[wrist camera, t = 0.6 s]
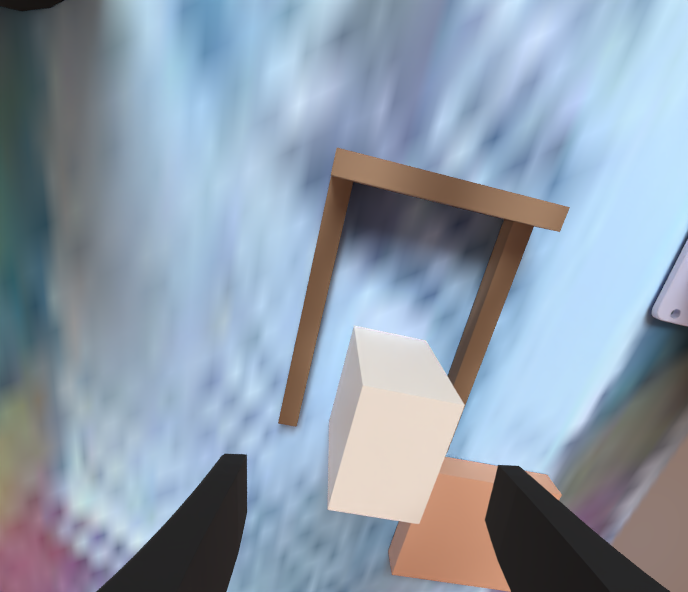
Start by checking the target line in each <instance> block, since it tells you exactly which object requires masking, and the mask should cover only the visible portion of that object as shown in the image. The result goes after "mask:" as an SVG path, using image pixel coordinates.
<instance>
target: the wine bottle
mask: <svg viewBox="0 0 688 592" xmlns="http://www.w3.org/2000/svg"><path fill="white" fill-rule="evenodd" d="M61 1H63V0H0V6H2V7H6V8H10V9H15V10H19V11H27V10H35V9H43V8H51V7H53V6H54V5H56V4H58V3H60V2H61Z"/></svg>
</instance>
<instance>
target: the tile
mask: <svg viewBox="0 0 688 592" xmlns="http://www.w3.org/2000/svg"><path fill="white" fill-rule="evenodd" d="M497 468H498V466H495V465H489V464H484V463H478V462H472V461H467V460H461V459H455V458H450V457H445V458H444V461H443V463H442V466H441V468H440V471H439V474H438V476H437V479H436V482H435V484H434V487H433V489H432V492H431V495H430V497H429V500H428V502H427V505H426V508H425V510H424V513H423V516H422V518H421V521H420V523H419V524H414V523H408V522H402V521H399V523H398V525H397V528H396V531H395V534H394V537H393V539H392V542H391V545H390V548H389V550H388V553H389V559H390V566H391V573H392V575H398V576H405V577H412V578H419V579H426V580H433V581H440V582H447V583H454V584H461V585H468V586H475V587H482V588H489V589H496V590H503V591H510V592H511V590H510V588H509V586H508V584H507V581H506V579H505V577H504V574H503V572H502V570H501V567H500V565H499V563H498V560H497V557H496V554H495V551H494V548H493V545H492V542H491V539H490V536H489V533H488V529H487V526H486V523H485V516H486V512H487V508H488V504H489V500H490V496H491V492H492V488H493V484H494V480H495V476H496V472H497ZM525 472H527V473H528V474H529V475H530V476H531V477H533V478H534V479H535V480H536V481H537V482H538V483H539V484H541V485H542V486H543V487H544V488H545V489H546V490H547V491H548V492H550V493H551V494H552V495H553V496H554V497H555V498H556V499H558V500H559V499H560V497H561V495H562V494H561V493H560V492H559V490H558V489H557V488H556V486H555V485H554V484H553V482H552V481H551V480H550V478H549V477H548V475H545V474H540V473H534V472H528V471H525Z"/></svg>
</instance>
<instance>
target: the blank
mask: <svg viewBox="0 0 688 592" xmlns="http://www.w3.org/2000/svg"><path fill="white" fill-rule="evenodd" d="M464 406H465V405H464V403H463V402H462V400H461V398H460V397H459V395H458V393H457V392H456V390H455V388H454V386H453V385H452V383H451V381H450V380H449V378H448V376H447V375H446V373H445V371H444V370H443V368H442V366H441V365H440V363H439V361H438V360H437V358H436V356H435V355H434V353H433V351H432V350H431V348H430V346H429V344H428V343H427V341H426V340H421V339H416V338H412V337H407V336H402V335H397V334H392V333H388V332H383V331H378V330H373V329H369V328H364V327H359V326H354V327H353V331H352V335H351V339H350V343H349V346H348V350H347V354H346V358H345V362H344V365H343V369H342V373H341V377H340V381H339V385H338V388H337V392H336V396H335V400H334V404H333V407H332V411H331V415H330V419H329V456H328V510H333V511H339V512H345V513H352V514H358V515H364V516H370V517H377V518H383V519H389V520H396V521H402V522H408V523H414V524H419V523H420V521H421V518H422V516H423V513H424V510H425V508H426V505H427V502H428V500H429V497H430V495H431V492H432V489H433V487H434V484H435V482H436V479H437V476H438V474H439V471H440V468H441V466H442V463H443V461H444V458H445V455H446V453H447V450H448V448H449V445H450V442H451V440H452V437H453V434H454V432H455V429H456V427H457V424H458V421H459V419H460V416H461V414H462V411H463V408H464Z"/></svg>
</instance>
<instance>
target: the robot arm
mask: <svg viewBox="0 0 688 592" xmlns="http://www.w3.org/2000/svg"><path fill="white" fill-rule="evenodd" d="M673 310H674V312H673V313H672V315H671V312H672V311H673ZM652 315H653V317H655V318H657V319H659V320H662V321H666V322H670V323H675V324H679V325H683V326H688V240H687V242H686V244H685V245H684V247H683V249H682V251H681V253H680V255H679V257H678V259H677V261H676V263H675V265H674V267H673V269H672V271H671V273H670V275H669V277H668V279H667V281H666V283H665V285H664V287H663V289H662V290H661V292H660V294H659V296H658V298H657V300H656V302H655V304H654V306H653V308H652ZM246 515H247V455H244V454H224V455H223V456H221V457H220V459H219V460H218V461H217V463H216V464H215V465H214V466H213V468H212V469H211V470H210V472H209V473H208V474H207V475H206V477H205V478H204V479H203V480H202V482H201V483H200V484H199V485H198V486H197V488H196V489H195V490H194V491H193V492H192V494H191V495H190V496H189V497H188V498H187V499H186V501H185V502H184V503H183V504H182V505H181V506H180V507H179V509H178V510H177V511H176V512H175V513H174V514H173V515H172V517H171V518H170V519H169V520H168V521H167V522H166V523H165V524H164V525H163V526H162V527H161V529H160V530H159V531H158V532H157V533H156V534H155V535H154V536H153V537H152V538H151V539H150V540H149V541H148V542H147V543H146V544H145V545H144V546H143V547H142V548H141V549H140V550H139V552H138V553H137V554H136V555H135V556H134V557H133V558H131V559H130V560H129V561H128V562H127V563H126V564H125V565H124V566H123V567H122V568H121V569H120V570H119V571H118V572H117V573H116V574H115V575H114V576H113V577H112V578H111V579H110V580H109V581H107V582H106V583H105V584H104V585H103V586H102V587H101V588H100V589H99V590H98V591H97V592H226V591H227V588H228V585H229V582H230V578H231V575H232V572H233V569H234V566H235V562H236V559H237V556H238V552H239V548H240V543H241V539H242V534H243V529H244V524H245V520H246ZM485 523H486V526H487V529H488V533H489V536H490V539H491V542H492V545H493V548H494V551H495V554H496V557H497V560H498V563H499V565H500V567H501V570H502V572H503V574H504V577H505V579H506V581H507V584H508V586H509V588H510V590H511V592H670V591H669V590H667V589H666V588H664V587H663V586H662V585H661V584H659V583H658V582H657V581H655V580H654V579H653V578H651V577H650V576H649V575H647V574H646V573H644V572H643V571H642V570H641V569H640V568H639V567H637V566H636V565H635V564H634V563H632V562H631V561H630V560H629V559H627V558H626V557H625V556H624V555H622V554H621V553H620V552H618V551H617V550H616V549H615V548H614V547H612V546H611V545H610V544H609V543H608V542H606V541H605V540H604V539H603V538H601V537H600V536H599V535H598V534H597V533H596V532H594V531H593V530H592V529H591V528H590V527H588V526H587V525H586V524H585V523H584V522H583V521H582V520H580V519H579V518H578V517H577V516H576V515H575V514H573V513H572V512H571V511H570V510H569V509H568V508H567V507H565V506H564V505H563V504H562V503H561V502H560V501H559V500H558V499H556V498H555V497H554V496H553V495H552V494H551V493H550V492H548V491H547V490H546V489H545V488H544V487H543V486H542V485H541V484H539V483H538V482H537V481H536V480H535V479H534V478H533V477H531V476H530V475H529V474H528V473H527V472H525V471H524V470H523V469H522V468H521V467H519V466H508V465H498V468H497V472H496V476H495V480H494V484H493V488H492V492H491V496H490V500H489V504H488V508H487V512H486V516H485Z"/></svg>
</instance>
